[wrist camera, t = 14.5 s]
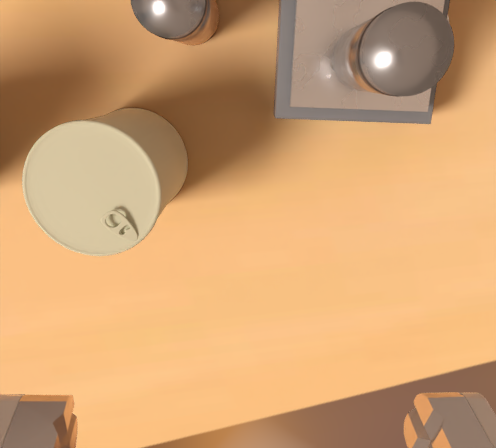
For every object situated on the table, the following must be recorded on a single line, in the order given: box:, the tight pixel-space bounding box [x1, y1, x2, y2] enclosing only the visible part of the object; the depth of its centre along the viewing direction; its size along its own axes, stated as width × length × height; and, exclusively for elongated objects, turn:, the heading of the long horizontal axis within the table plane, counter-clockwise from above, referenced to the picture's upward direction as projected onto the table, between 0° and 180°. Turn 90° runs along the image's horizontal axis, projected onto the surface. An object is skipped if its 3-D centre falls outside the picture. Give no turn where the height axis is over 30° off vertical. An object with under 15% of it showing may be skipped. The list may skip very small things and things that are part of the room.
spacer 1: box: [131, 0, 219, 45], centre depth 32 cm, size 4×4×10 cm
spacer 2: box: [333, 2, 454, 97], centre depth 27 cm, size 4×4×10 cm
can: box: [22, 108, 188, 256], centre depth 35 cm, size 9×9×12 cm
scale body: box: [274, 0, 450, 124], centre depth 34 cm, size 12×17×4 cm
